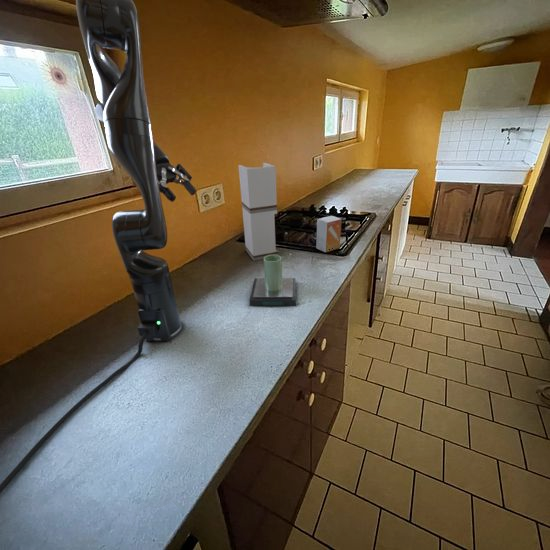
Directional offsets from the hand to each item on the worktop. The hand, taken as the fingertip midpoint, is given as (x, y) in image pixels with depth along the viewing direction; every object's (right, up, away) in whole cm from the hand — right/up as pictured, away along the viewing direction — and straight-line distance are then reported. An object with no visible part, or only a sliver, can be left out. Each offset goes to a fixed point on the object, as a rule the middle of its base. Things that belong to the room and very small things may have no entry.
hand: (184, 196), depth 89 cm
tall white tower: (+21, -14, +37) cm, 45 cm away
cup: (+26, -27, +7) cm, 38 cm away
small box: (+49, -12, +39) cm, 64 cm away
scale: (+27, -29, +8) cm, 40 cm away
